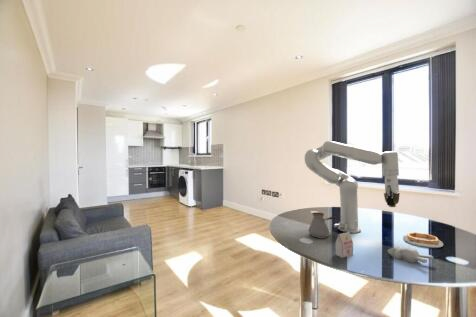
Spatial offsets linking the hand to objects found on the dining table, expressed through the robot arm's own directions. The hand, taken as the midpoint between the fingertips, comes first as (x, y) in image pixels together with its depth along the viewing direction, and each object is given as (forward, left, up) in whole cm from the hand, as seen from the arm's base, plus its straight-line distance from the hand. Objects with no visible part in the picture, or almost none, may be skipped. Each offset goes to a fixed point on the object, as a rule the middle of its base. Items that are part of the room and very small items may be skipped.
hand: (392, 204), depth 126 cm
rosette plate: (+6, -12, -18) cm, 22 cm away
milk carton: (-43, -16, -18) cm, 50 cm away
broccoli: (0, 0, -2) cm, 2 cm away
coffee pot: (-39, +5, -18) cm, 44 cm away
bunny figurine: (-20, -27, -18) cm, 39 cm away
